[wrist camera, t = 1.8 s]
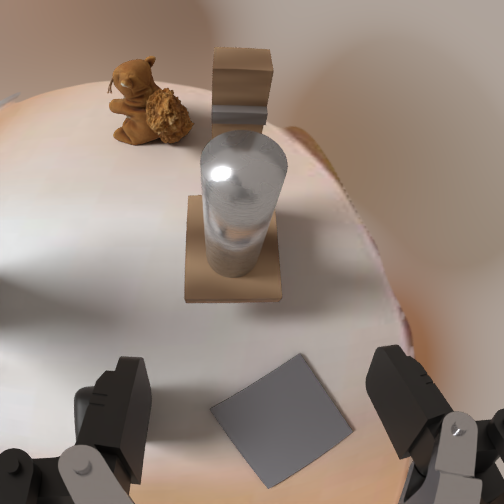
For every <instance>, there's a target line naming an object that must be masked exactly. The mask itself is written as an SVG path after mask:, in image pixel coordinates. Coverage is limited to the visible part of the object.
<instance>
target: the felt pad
mask: <svg viewBox="0 0 504 504" xmlns="http://www.w3.org/2000/svg"><path fill="white" fill-rule="evenodd" d="M210 410H211V412H212V413H213V415H214V416H215V418H216V419H217V421H218V422H219V424H220V425H221V427H222V428H223V429H224V431H225V432H226V434H227V435H228V437H229V438H230V439H231V441H232V442H233V444H234V445H235V446H236V448H237V449H238V451H239V452H240V453H241V455H242V456H243V457H244V459H245V460H246V461H247V463H248V464H249V465H250V467H251V468H252V469H253V470H254V472H255V473H256V474H257V476H258V477H259V478H260V479H261V481H262V482H263V483H264V484H265V486H266V487H267V488H268V489H269V488H271V487H273V486H274V485H276V484H278V483H279V482H281V481H283V480H284V479H286V478H288V477H289V476H291V475H292V474H294V473H296V472H297V471H299V470H300V469H302V468H303V467H305V466H306V465H308V464H309V463H311V462H312V461H314V460H315V459H317V458H318V457H320V456H321V455H322V454H324V453H325V452H327V451H328V450H329V449H331V448H332V447H334V446H335V445H336V444H338V443H339V442H340V441H342V440H343V439H344V438H346V437H347V436H348V435H349V434H351V433H352V432H353V431H352V429H351V428H350V427H349V425H348V424H347V422H346V421H345V419H344V418H343V416H342V415H341V413H340V412H339V410H338V409H337V408H336V406H335V405H334V403H333V402H332V400H331V399H330V397H329V396H328V394H327V393H326V391H325V390H324V388H323V387H322V385H321V384H320V382H319V381H318V379H317V378H316V376H315V375H314V373H313V372H312V371H311V369H310V368H309V366H308V365H307V363H306V362H305V360H304V359H303V357H302V356H301V354H298V355H296V356H295V357H293V358H292V359H290V360H289V361H287V362H286V363H284V364H283V365H281V366H280V367H278V368H277V369H275V370H274V371H272V372H271V373H269V374H267V375H266V376H264V377H263V378H261V379H259V380H258V381H256V382H255V383H253V384H251V385H250V386H248V387H247V388H245V389H243V390H242V391H240V392H238V393H237V394H235V395H233V396H231V397H230V398H228V399H226V400H225V401H223V402H221V403H219V404H218V405H216V406H214V407H212V408H211V409H210Z"/></svg>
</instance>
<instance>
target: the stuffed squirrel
mask: <svg viewBox="0 0 504 504" xmlns="http://www.w3.org/2000/svg"><path fill="white" fill-rule="evenodd" d="M154 62H155V57H154V56H149V57H147V58H146V59H145V60H141V59H136V60H131V61H128V62H125V63H123V64H121V65H120V66H118V67H117V68H116V69H115V70H114V72H113V78H112V80H111V82H110V84H109V87H110V93H112V91H111V85H112V82H114V85H115V87H116V88H117V89H118V90H119V91H120V92H121V93H122V94H123V95H124V98H123V99H113V100H112V101H111V102H110V103H109V108H110V110H111V111H112V112H113V113H117V114H124V115H127V118H126V119H125V121H124V122H123V126H122V127H120V128H118V129H117V130H116V131H115V132H114V134H113V136H114V138H115V139H117V140H118V141H121V142H124V143H128V144H131V145H138V144H143V143H146V142H149V141H152V140H155V139H157V138H161V140H162V141H163V142H164V143H167V142H169V143H174V142H178V141H179V140H180V139H181V138H182V137H184V136H185V135H187V134H188V133H189V131H190V130H191V129H192V126H193V124H194V123H192V121H190V118H189V115H188V112H187V109H186V107H184V106H183V105H182V104H181V100H179V99H178V97H175V96H174V95H173V94H174V92H173V90H171V91H170V90H169V88H164V89H163V90H162V89H161V88H160V87H158V86H157V85H156V84H155V82H154V80H153V77H152V72H151V67H152V66H153V64H154ZM107 93H109V88H108V92H107Z"/></svg>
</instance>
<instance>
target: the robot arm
mask: <svg viewBox="0 0 504 504" xmlns="http://www.w3.org/2000/svg"><path fill="white" fill-rule="evenodd" d="M366 390H367V393H368V395H369V397H370V399H371V401H372V403H373V405H374V407H375V409H376V411H377V413H378V415H379V417H380V419H381V421H382V423H383V426H384V428H385V430H386V432H387V434H388V436H389V438H390V440H391V442H392V444H393V446H394V448H395V450H396V453H397V455H398V457H399V459H404V458H407V457H410V456H411V457H412V458H413V461H412V463H411V465H410V468H409V471H408V475H407V478H406V481H405V485H404V488H403V491H402V494H401V497H400V500H399V503H398V504H504V479H503V477H502V475H501V473H500V471H499V469H498V468H497V466H496V464H495V461H496V460H497V459H498V458H499V457H501V459H502V461H503V462H504V409H501V410H499V411H497V413H496V414H495V415H494V417H493V418H492V419H491V420H481V421H475V420H474V419H473V418H472V417H471V416H470V415H468V414H466V413H463V412H459V411H456V412H454V411H453V410H452V408H451V407H450V405H449V404H448V402H447V401H446V399H445V398H444V396H443V395H442V393H441V392H440V391H439V389H438V388H437V386H436V385H435V383H433V381H432V379H431V378H430V377H429V376H428V375H427V372H426V371H425V370H424V368H423V367H422V365H421V364H420V363H419V362H417V361H416V360H415V359H413V358H412V357H411V356H406V354H405V353H404V351H403V350H402V349H401V347H400V346H399V345H390V346H383V347H378V348H377V349H376V351H375V353H374V356H373V359H372V362H371V365H370V368H369V371H368V374H367V376H366ZM151 403H152V395H151V388H150V383H149V379H148V375H147V371H146V367H145V362H144V359H143V358H142V357H124V356H121V357H120V358H119V360H118V363H117V366H116V369H115V371H107V370H106V371H105V372H104V373H103V374H102V375H101V376H100V377H99V379H98V380H97V381H96V384H95V386H94V389H93V392H92V395H91V398H90V401H89V405H88V407H87V410H86V413H85V416H84V419H83V422H82V425H81V428H80V432H79V435H78V438H77V441H76V443H75V445H74V446H72V447H70V448H68V449H66V450H65V451H64V452H63V453H62V455H61V456H59V457H55V458H40V459H32V458H31V457H30V456H29V455H28V454H27V453H26V452H25V451H23V450H21V449H16V448H12V449H8V450H5V451H4V452H2V453H1V454H0V504H135V503H134V502H133V500H132V499H131V497H130V496H129V491H130V483H132V484H140V485H141V476H142V467H143V459H144V451H145V444H146V437H147V430H148V423H149V417H150V410H151Z"/></svg>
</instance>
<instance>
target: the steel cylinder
mask: <svg viewBox="0 0 504 504" xmlns="http://www.w3.org/2000/svg"><path fill="white" fill-rule="evenodd" d="M200 164H201V184H202V201H203V217H204V231H205V245H206V257H207V261H208V263H209V265H210V267H211V268H212V269H213V270H214V271H215V272H216V273H218V274H219V275H221V276H224V277H228V278H237V277H241V276H244V275H246V274H247V273H249V272H250V271H251V270H252V269H253V268H254V266H255V265H256V263H257V260H258V257H259V254H260V251H261V248H262V245H263V242H264V239H265V236H266V233H267V230H268V227H269V224H270V221H271V218H272V215H273V212H274V209H275V206H276V203H277V200H278V197H279V194H280V191H281V188H282V185H283V182H284V179H285V176H286V173H287V167H288V165H287V159H286V156H285V153H284V152H283V150H282V149H281V147H280V146H279V145H278V144H277V143H276V142H275V141H274V140H272V139H271V138H269V137H267V136H265V135H263V134H261V133H258V132H254V131H249V130H234V131H229V132H225V133H222V134H220V135H218V136H216V137H215V138H213V139H212V140H211V141H210V142H209V143H208V144H207V145H206V146H205V148H204V150H203V152H202V155H201V160H200Z"/></svg>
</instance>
